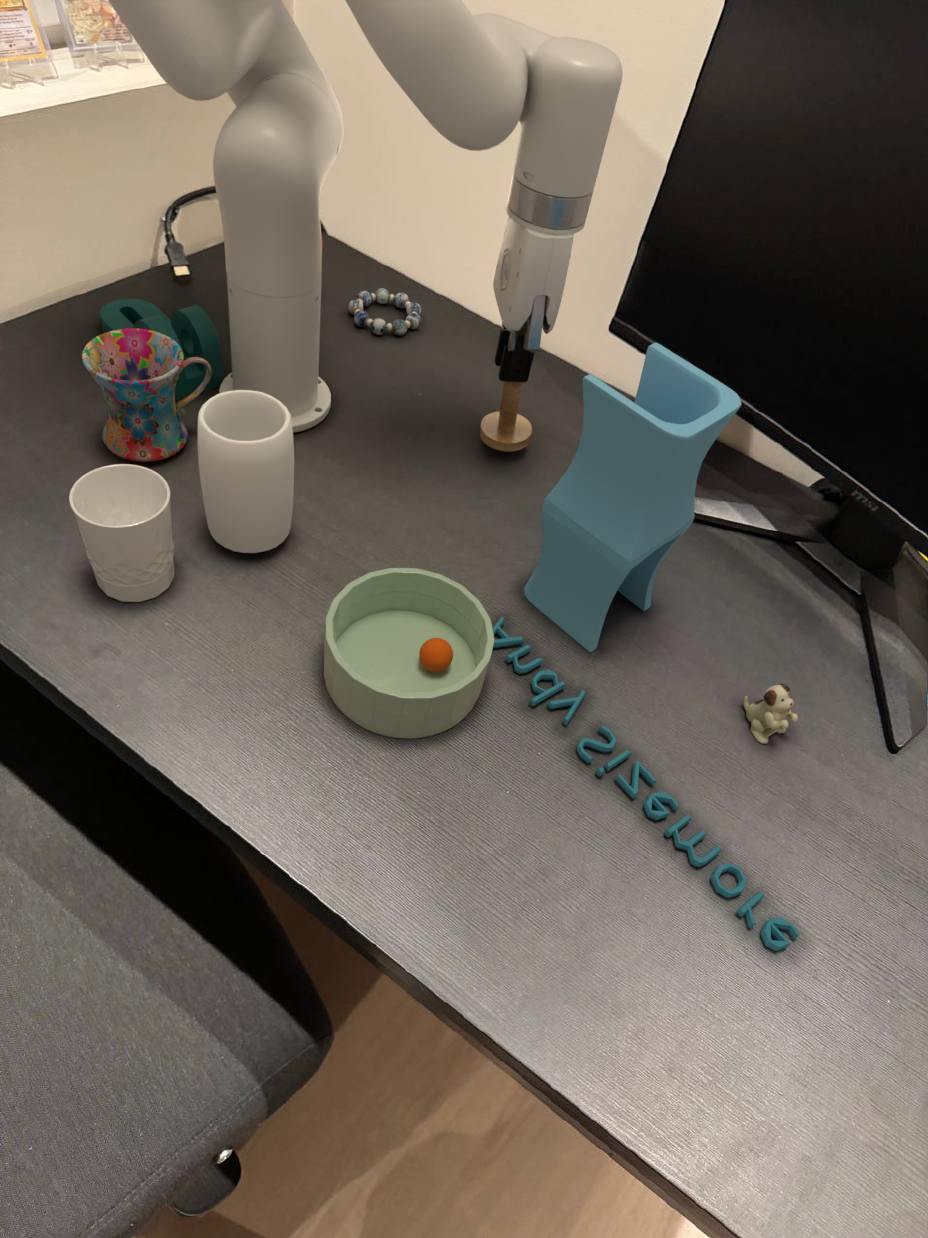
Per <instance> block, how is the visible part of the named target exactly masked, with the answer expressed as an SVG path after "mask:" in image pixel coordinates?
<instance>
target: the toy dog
mask: <svg viewBox="0 0 928 1238" xmlns="http://www.w3.org/2000/svg"><path fill="white" fill-rule="evenodd" d="M762 698H763V699H759V700H757V701H754V702H752V703H751V704H750V702H749V696H748V695H745V696H744V697H743V702H742V703H743V708H744V710H745V712H746V715H745V716H746V719H747V720H748V721H749V722H750V723H751V724H750V725H751V726H750V732H751V734H752V735H753V737H754V738H755V740H756V741H757V742H758V743H760V744H762V745H767V744H768V743H769V737H770V736H772V735H773V734H776V733H778V734H785V733H786V731H787V729H788V728H789V726H790V725H789V724H790V723H789V721H788V720H787V719H791V721H792V722H793V723H797V722H798V720H799V716H798V714H797V713H794V712H792V707H793V706H794V704H795V703H794V699H793V697H792V693H791V689H790V687H789V686H788V685H787V684H786V683H779V684H774V685H771V686H769V687H768V688H767V689H766V690H765V692H764V694H763V697H762ZM786 718H787V719H786Z"/></svg>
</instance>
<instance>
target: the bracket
mask: <svg viewBox="0 0 928 1238" xmlns="http://www.w3.org/2000/svg"><path fill="white" fill-rule="evenodd" d="M99 315H100V320H101V326H102V333H103V334H104V333H106V332H110V331H114V330H119V329H146V330H151V331H155V332H159V333H161V334H164V335H166V336H168V337H170V338H171V339H173V340H174V341H175V342H177V343H178V345H179V346H180V347H181V349H182V351H183V355H184V360H186V359H188V358H191V357H200V358H203V359H205V360H206V361H207V362H208V363H209V364H210V367H211V377H210V380H209V382H208V384H207V385H206V387H205V388H204V390H203V391H202V392H201V393H203V392H208V391H211V390H213V389H216V388H220V385H221V383H222V382H223V380H224V378H223V377H224V376H223V362H222V361H223V360H222V349H221V342H220V338H219V335H218V332H217V329H216V327H215V325H214V323H213V321H212V318H210V316H209V315H208V313H207V312H206V311H205V310H204V309H203V308H202V307H201V306H199V305H192V306H188V307H184V308H180V309H177V310H174V311H173V312H172V314H171V319H170V318H169V317H168V316H167V315H166V313H164V312H163V311H162V310H161V309H160V308H159V307H158V306H157V305H155V304H154V303H152V302H150V301H147V300H144V299H139V298H120V299H116V300H112V301H110V302H108V303H106V304H104V305H103V306H102V307H101V309H100V311H99ZM206 372H207V367H206V366H205V365H204V364H202V363H192V364H189V365H187V366H186V367H185V368H184V369H183V370H182V371H181V372H180V375H179V379H178V380H177V381H176V386H175V402H176V401H178V400H183V399H185V398H186V397H188V396H189V395H190V394H192V393H193V392H194V391H195V390H196V389H197V388H198V387H199V386H200V384H201V383H202V381H203V380H204V378H205V375H206Z"/></svg>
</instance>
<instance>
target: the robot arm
mask: <svg viewBox="0 0 928 1238" xmlns="http://www.w3.org/2000/svg"><path fill="white" fill-rule="evenodd" d="M107 1H108V3H109V4H110V5H111V7H112V8H113V10H114V11H115V13H116V14H117V16H118V17H119V19H120V20H121V21H122V23H123V24H124V27H126V29H127V31H128V32H129V33H130V34H131V36H132V38H133V39H134V41H135V42H136V43H137V45H138V46H139V48H140V49H141V51H142V52H143V53H144V55H145V56H146V58H147V59H148V61H149V62H150V64H151V65H152V67H153V68H154V70H155V71H156V72H157V73H158V75H159V76H160V77H161V79H162V80H163V81H164V82H165V83H166V84H167V85H168V86H169V87H170V88H171V89H172V90H173V91H175V92H176V93H177V94H179V95H181V96H183V97H185V98H187V99H189V100H193V101H196V102H197V101H200V102H203V101H211V100H214V99H217V98H219V97H221V96H223V95H224V94H226V93H227V95H228V96H229V98H230V99H231V101H232V102H233V104H234V105H235V108H234V110H232V112H231V113H230V114H229V115H228V117H227V119H226V120H225V121H224V123H223V125H222V127H221V129H220V131H219V134H218V136H217V138H216V142H215V146H214V150H213V151H214V152H213V157H212V158H213V159H212V173H213V182H214V188H215V193H216V198H217V203H218V207H219V211H220V218H221V225H222V234H223V243H224V244H223V245H224V259H225V261H224V262H225V272H226V285H227V286H226V287H227V303H228V306H227V307H228V321H229V322H228V323H229V337H230V338H229V339H230V357H231V359H230V360H231V372H230V373H229V374H228V375H227V376H225V378H223V382H222V383H221V385H220V386H219V389H218V394H220V393H223V392H227V391H234V390H252V391H258V392H263V393H265V394H268V395H270V396H272V397H274V398H276V399H277V400H279V401H280V402H281V403H282V404H283V405H284V406H285V407H286V408H287V409H288V411H289V412H290V414H291V420H292V430H293V434H294V433H299V432H303V431H306V430H309V429H311V428H313V427H315V426H317V425H319V424H320V423H321V422H323V420H324V419H326V417H327V416H328V414H329V412H330V410H331V406H332V405H331V404H332V394H331V390H330V387H329V386H328V385H327V383H326V382H325V380H323V378H321V377H320V376H319V371H320V369H319V368H320V343H321V341H320V337H321V311H322V307H321V305H322V268H323V248H322V240H323V237H322V227H321V214H320V213H321V212H320V210H321V208H320V207H321V197H322V196H321V195H322V188H323V186H324V183H325V181H326V179H327V178H328V176H329V173H330V170H331V168H332V167H333V165H334V164H335V162H336V160H337V158H338V155H339V153H340V151H341V148H342V145H343V140H344V133H345V131H344V130H345V129H344V126H345V125H344V118H343V113H342V109H341V106H340V103H339V101H338V99H337V96H336V94H335V92H334V90H333V88H332V85H331V84H330V82H329V81H328V79H327V77H326V74H325V73H324V71H323V70H322V68H321V66H320V64H319V63H318V60H317V59H316V58H315V55H314V54H313V52H312V50H311V49H310V47H309V45H308V43H307V42H306V40H305V38H304V36H303V35H302V33H301V31H300V29H299V28H298V26H297V24H296V22H295V21H294V19H293V17H292V16H291V14H290V12H289V10H288V8H287V7H286V5H285V3H284V1H283V0H107ZM344 1H345V2H346V4H347V6H348V8H349V9H350V11H351V13H352V15H353V17H354V19H355V20H356V23H357V24H358V26H359V28H360V29H361V31H362V33H363V35H364V37H365V38H366V40H367V42H368V44H369V45H370V47H371V48H372V50H373V51H374V53H375V54H376V56H377V58H378V59H379V61H380V62H381V64H382V65H383V66H384V68H385V69H386V71H387V73H388V74H389V75H390V76H391V77H392V78H393V80H394V81H395V83H396V84H397V85H398V86H399V88H400V89H401V90H402V91H403V92H404V93H405V96H407V97H408V99H409V100H410V101H411V102H412V103H413V104H414V106H415V107H416V108H417V110H418V112H420V114H422V116H423V117H424V118H425V119H426V120H427V122H428V123H429V124H430V125H431V127H433V129H434V130H436V131H437V132H438V133H439V134H440V135H441V136H442V137H443V138H444V139H446V140H447V141H449V142H450V143H451V144H452V145H455V146H457V147H459V148H460V149H464V150H468V151H473V152H483V151H488V150H491V149H493V148H495V147H498V146H499V145H500V144H503V142H505V141H506V140H507V139H508V138H509V137H510V136H511V135H512V134H513V132H514V130H515V129H516V127H517V125H518V124H520V132H519V137H518V143H517V149H516V154H515V159H514V164H513V169H512V176H511V181H510V187H509V191H508V197H507V201H506V206H505V207H506V208H505V210H506V213H507V216H508V218H507V221H506V225H505V229H504V233H503V236H502V237H503V238H502V241H501V246H500V250H499V253H498V258H497V262H496V267H495V271H494V272H495V273H494V276H493V281H492V282H493V283H492V287H493V293H494V298H495V301H496V305H497V308H498V312H499V315H500V316H499V317H500V319H501V328H502V329H500V331H499V337H498V342H497V346H496V351H495V356H494V364H495V366H497V367H499V370H498V374H497V375H498V380H499V381H500V382H504V381H507V382H522V384H523V383H527V382H528V380H529V377H530V373H531V369H532V365H533V361H534V356H535V353H536V352H539V351H540V348H541V343H542V333H543V332H544V334H545V335H548V334H549V333H551V332H552V331H553V329H554V327H555V324H556V321H557V318H558V315H559V311H560V308H561V303H562V299H563V295H564V290H565V285H566V281H567V277H568V276H567V275H568V270H569V266H570V260H571V257H572V249H573V245H574V244H573V243H574V237H575V234H578V233H580V232H581V231H582V230H583V229H584V227H585V226H586V225H585V224H586V220H587V217H588V213H589V209H590V205H591V202H592V198H593V193H594V190H595V186H596V183H597V178H598V174H599V170H600V166H601V163H602V159H603V155H604V151H605V148H606V144H607V140H608V136H609V132H610V129H611V125H612V121H613V117H614V113H615V110H616V105H617V103H618V102H617V101H618V98H619V94H620V90H621V85H622V82H623V73H624V72H623V64H622V61H621V59H620V58H619V56H618V54H616V53H615V52H614V51H613V50H611V49H609V48H608V47H607V46H604V45H603V44H601V43H597V42H595V41H591V40H587V39H583V38H578V37H572V36H571V37H569V36H560V37H557V36H555V35H551V34H549V33H546V32H543V31H541V30H538V29H536V28H533V27H531V26H529V25H526V24H524V23H522V22H519V21H517V20H515V19H513V18H510V17H508V16H507V17H506V16H504V15H501V14H497V13H491V12H490V13H489V12H487V13H486V12H485V13H484V12H483V13H477V14H474V15H473V14H472V13H471V11H470V9H469V8H468V7H467V6H466V4H465V2H464V0H344ZM321 237H322V238H321ZM519 330H520V331H527V334H526V335H525V334H520V335H519V336H518V333H519ZM510 331H511V333H510Z"/></svg>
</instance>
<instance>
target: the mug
mask: <svg viewBox="0 0 928 1238" xmlns="http://www.w3.org/2000/svg"><path fill="white" fill-rule="evenodd" d="M81 360H82V363H83V366H84V367H85V369H86V370H87V371H88V372H89V374H90V375H91V376H92V377H93V379H94V381H95V382H96V384H97V386H98V388H99V389H100V392H101V394H102V396H103V398H104V399H103V400H104V404H105V409H106V422H105V425H104V427H103V430H102V441H103V443H104V445H105V447H107V449H108V450H109V451H110V452H111V453H113V454H114V455H115V456H118V457H119V458H122V459H124V460H127V461H132V462H144V463H145V462H147V463H149V462H157V461H160V460H165V459H168V458H170V457H172V456H174V455H175V454H177V453H178V452H180V451H181V450H182V449H183V447H184V446H185V445H186V443H187V440H188V437H189V433H188V429H187V426H186V424H185V423H184V421H183V420H182V419H181V417H180V415H179V413H180V414H182V415H185V414H186V410H185V408H183V407H185V406H187V405H188V404H189V403H191V402H193V400H195V399H196V398H197V397H198V396H199V395H200V394H202V393H203V392H202V391H203V390H204V388H205V387H206V385H207V384H208V382H209V380H210V377H211V367H210V364H209V363H208V362H207V361H206V360H205V359H203V358H200V357H191V358H188V359H186V360H184V355H183V351H182V349H181V347H180V346H179V345H178V343H177V342H175V341H174V340H173V339H171V338H170V337H168V336H166V335H164V334H161V333H159V332H155V331H151V330H146V329H119V330H114V331H110V332H106V333H104V332H103V333H101V334H99V335H97V336H95V337H94V338H92V339H91V340H90V341H89V342H87V344H85V346H84V348H83V350H82V352H81ZM192 363H202V364H204V365H205V366H206V367H207V372H206V375H205V378H204V380H203V381H202V383H201V384H200V386H199V387H198V388H197V389H196V390H195V391H194V392H193V393H192V394H190V395H189V396H188V397H185V398H182V399H180V401H178V402H177V403H176V401H175V386H176V381H177V380H178V379H179V375H180V372H181V371H182V370H183V369H184V368H185V367H186V366H187V365H189V364H192ZM178 412H179V413H178Z"/></svg>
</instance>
